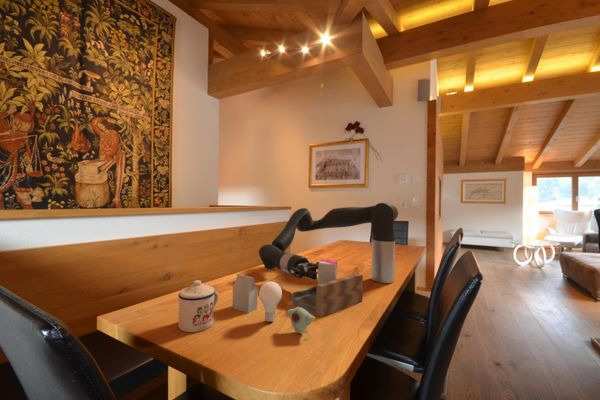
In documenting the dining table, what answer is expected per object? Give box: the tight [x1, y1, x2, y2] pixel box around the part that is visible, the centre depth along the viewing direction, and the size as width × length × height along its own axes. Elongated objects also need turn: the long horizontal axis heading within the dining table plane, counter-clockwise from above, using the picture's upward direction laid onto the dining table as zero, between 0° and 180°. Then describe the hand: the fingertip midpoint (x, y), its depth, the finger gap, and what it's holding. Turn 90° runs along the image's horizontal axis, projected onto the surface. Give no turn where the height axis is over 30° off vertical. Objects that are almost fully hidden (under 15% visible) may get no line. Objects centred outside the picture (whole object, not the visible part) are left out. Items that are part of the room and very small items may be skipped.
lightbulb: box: [258, 281, 283, 323], centre depth 75 cm, size 6×6×11 cm
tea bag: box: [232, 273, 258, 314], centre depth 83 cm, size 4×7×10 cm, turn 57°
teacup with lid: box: [177, 279, 219, 333], centre depth 73 cm, size 12×9×12 cm
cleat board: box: [291, 273, 364, 318], centre depth 90 cm, size 20×13×9 cm, turn 131°
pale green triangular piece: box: [287, 306, 317, 334], centre depth 69 cm, size 8×4×7 cm, turn 56°
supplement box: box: [317, 259, 338, 285], centre depth 90 cm, size 6×6×12 cm
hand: (325, 274), depth 91 cm, fingers open, 8 cm apart
